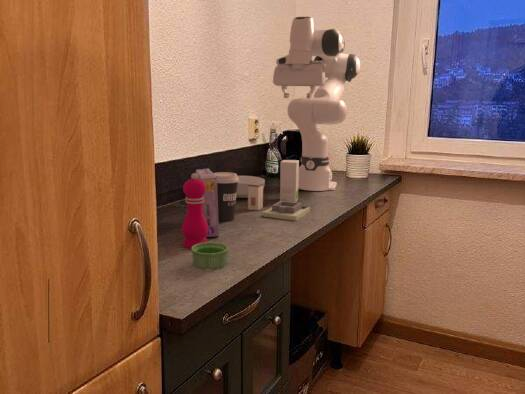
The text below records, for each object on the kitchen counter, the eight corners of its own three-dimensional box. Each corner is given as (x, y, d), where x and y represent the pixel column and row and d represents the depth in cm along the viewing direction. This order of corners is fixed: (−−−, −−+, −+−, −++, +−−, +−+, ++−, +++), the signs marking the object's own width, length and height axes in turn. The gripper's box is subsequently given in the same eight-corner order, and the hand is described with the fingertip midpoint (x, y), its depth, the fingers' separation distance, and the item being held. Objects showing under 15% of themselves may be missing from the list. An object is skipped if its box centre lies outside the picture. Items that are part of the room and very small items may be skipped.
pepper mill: (182, 241, 136) (181, 170, 132) (208, 241, 137) (208, 171, 133) (180, 249, 129) (179, 175, 125) (208, 249, 130) (207, 175, 126)
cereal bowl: (246, 202, 184) (246, 184, 183) (214, 196, 194) (214, 179, 193) (272, 195, 198) (273, 178, 196) (241, 190, 207) (241, 173, 206)
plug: (252, 206, 178) (253, 182, 176) (262, 208, 176) (263, 183, 175) (248, 209, 174) (248, 184, 173) (258, 210, 173) (258, 185, 171)
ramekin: (218, 273, 113) (218, 255, 112) (184, 267, 117) (184, 250, 116) (234, 261, 122) (234, 244, 121) (202, 256, 125) (202, 240, 124)
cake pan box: (195, 221, 157) (195, 167, 153) (211, 220, 158) (211, 167, 154) (202, 239, 139) (201, 178, 135) (219, 238, 140) (219, 177, 136)
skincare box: (295, 203, 185) (297, 162, 181) (278, 202, 186) (279, 161, 182) (298, 198, 193) (299, 159, 189) (282, 197, 194) (283, 159, 191)
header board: (278, 207, 177) (278, 198, 176) (309, 211, 172) (310, 201, 172) (263, 216, 165) (263, 206, 164) (296, 220, 160) (296, 210, 159)
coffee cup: (216, 224, 154) (216, 177, 151) (205, 217, 163) (205, 172, 159) (243, 220, 159) (244, 175, 155) (231, 214, 167) (232, 171, 164)
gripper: (329, 61, 181) (326, 99, 182) (279, 62, 190) (277, 98, 192) (323, 58, 175) (320, 97, 177) (272, 59, 184) (270, 96, 186)
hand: (297, 98), depth 184 cm, fingers open, 8 cm apart
